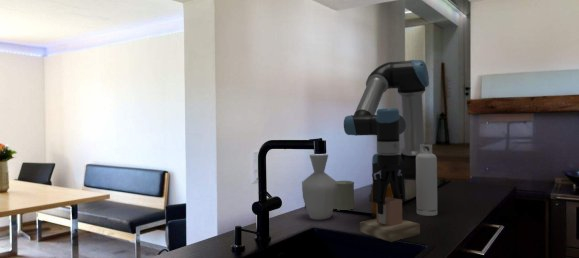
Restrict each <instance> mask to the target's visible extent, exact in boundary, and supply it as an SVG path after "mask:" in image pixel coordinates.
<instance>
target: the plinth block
mask: <svg viewBox="0 0 579 258" xmlns="http://www.w3.org/2000/svg"><path fill="white" fill-rule="evenodd" d="M359 233H361V234H365V235H368V236H370V237H374V238H377V239H381V240H383V241H386V242H390V243H393V242H396V241H399V240H400V239H401V240H404V239H407V238H411V237H415V236H420V235H421V223H419V222H413V221H411V220H406V219H403V218H402V223H401V224H397V225H393V226H388V225H384V224H380V223H377V218H372V219H368V220H363V221H360V222H359ZM401 240H400V241H401Z"/></svg>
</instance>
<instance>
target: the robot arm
mask: <svg viewBox="0 0 579 258" xmlns="http://www.w3.org/2000/svg"><path fill="white" fill-rule="evenodd" d="M429 85H430V81H429V71H428V67H427V64H426V62H425V60H422V59H410V60H401V61H390V62H385V63H383V64H381V65H379V66H378V67H376V68H374V70H373V71H371V73H370V74H369V75H368V76H367V79H366V82H365V89H364V91H363V93H362V95H361V98H360V101H359V102H358V105H357V107H356V109H355V112H354V114H351V115H347V116H345V117H344V119H343V130H344V133H345V134H346V135H347V136H376V153H374V154H373V155H372V158H371V159H372V160H371V161H372V162H371V167H372V168H371V170H372V173H371V177H372V184H373V200H372V191H371V190H370V194H369V195H368V201H369V202H370V203H372V201H373V202H374V203H376V204H377V206H378V214H379V223H381V224H386V205H385V204H384V202H385V196H386V191H387V186H388V185H389V183H390V186H391V190H392V194H393V198H396V199H401V200H402V203H403V201H404V199H405V198H406V190H405V181H416V156H417V155H418V154H420V145H422V144H425V136H424V135H425V133H424V116H423V115H424V113H423V112H424V110H423V94H424V93H425V92H426V88H427V87H429ZM390 89H397V94H398V95H400V96H401V107H402V108H401V109H402V113H401V114H402V115H400V110H399V109H398V108H395V107H393V108H378V107H379V105H380V102H381V100H382V97H383V94H384V93H385V92H387V90H390ZM401 134H403V146H404V148H402V150H400V135H401ZM425 149H426V147H423V150H424V151H425ZM428 151H429V150H428V149H427V152H428ZM399 153H400V154H399ZM383 181H384V182H383ZM380 200H381V201H380Z"/></svg>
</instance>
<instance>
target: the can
mask: <svg viewBox="0 0 579 258" xmlns="http://www.w3.org/2000/svg"><path fill="white" fill-rule="evenodd" d="M335 181H336V182H337V196H336V201H335V205H334V208H333V210H335V209H337V210H336V211H340V210H349V211H351V210H350V209H353V210H355V209H354V208H355V182H354V181H352V180H335Z"/></svg>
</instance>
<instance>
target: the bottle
mask: <svg viewBox="0 0 579 258" xmlns="http://www.w3.org/2000/svg"><path fill="white" fill-rule="evenodd" d="M423 147H424V148H425V151H424V150H423ZM426 147H427V148H426ZM428 149H429V150H428ZM427 150H428V152H427ZM415 188H416V189H415V194H416V201H415V202H416V214H418V215H419V216H427V217H428V216H429V217H430V216H433V217H434V216H437V215H438V158H437V156H436V154H434V153H433V144H428V143H427V144H425V143H424V144H422V145H420V154H418V155H417V156H416V180H415Z"/></svg>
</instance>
